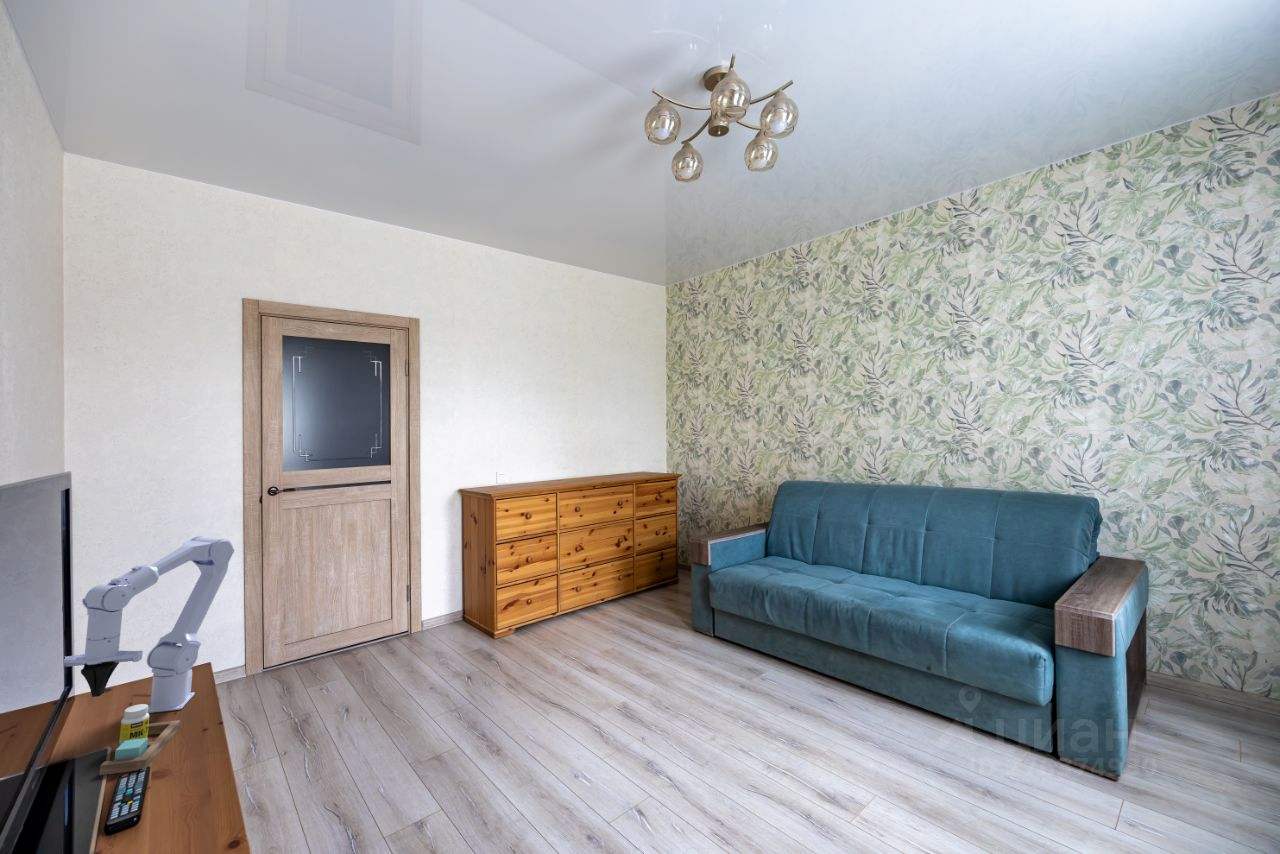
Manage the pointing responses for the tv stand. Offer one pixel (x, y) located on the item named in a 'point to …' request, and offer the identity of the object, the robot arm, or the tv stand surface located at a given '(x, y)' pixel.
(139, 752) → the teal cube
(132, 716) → the supplement bottle
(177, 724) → the frame
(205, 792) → the tv stand surface
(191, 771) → the tv stand surface
